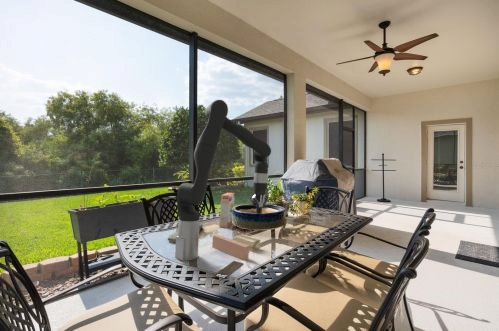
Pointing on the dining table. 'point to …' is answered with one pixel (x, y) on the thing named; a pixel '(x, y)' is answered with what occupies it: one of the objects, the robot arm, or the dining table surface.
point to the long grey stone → (173, 237)
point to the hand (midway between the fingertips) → (258, 213)
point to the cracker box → (226, 209)
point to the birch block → (249, 242)
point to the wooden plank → (229, 268)
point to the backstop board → (231, 247)
